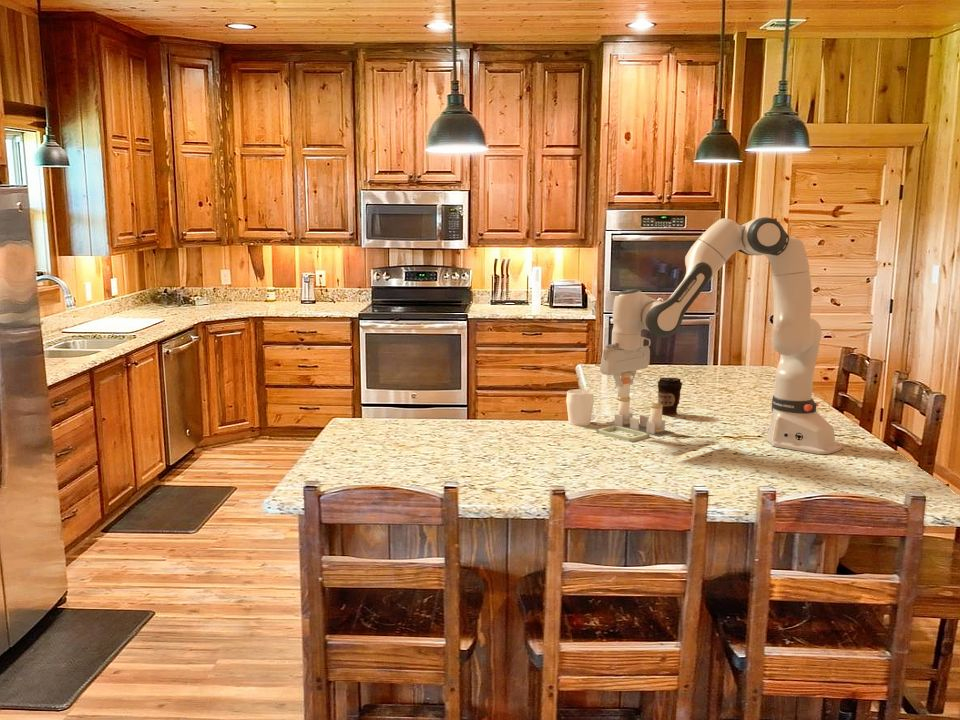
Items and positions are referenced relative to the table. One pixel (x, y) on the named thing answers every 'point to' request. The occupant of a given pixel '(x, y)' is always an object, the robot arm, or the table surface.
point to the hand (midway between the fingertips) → (624, 385)
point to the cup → (579, 406)
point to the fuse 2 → (656, 416)
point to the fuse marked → (624, 387)
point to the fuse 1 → (624, 411)
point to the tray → (631, 439)
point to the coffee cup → (669, 395)
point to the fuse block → (640, 425)
